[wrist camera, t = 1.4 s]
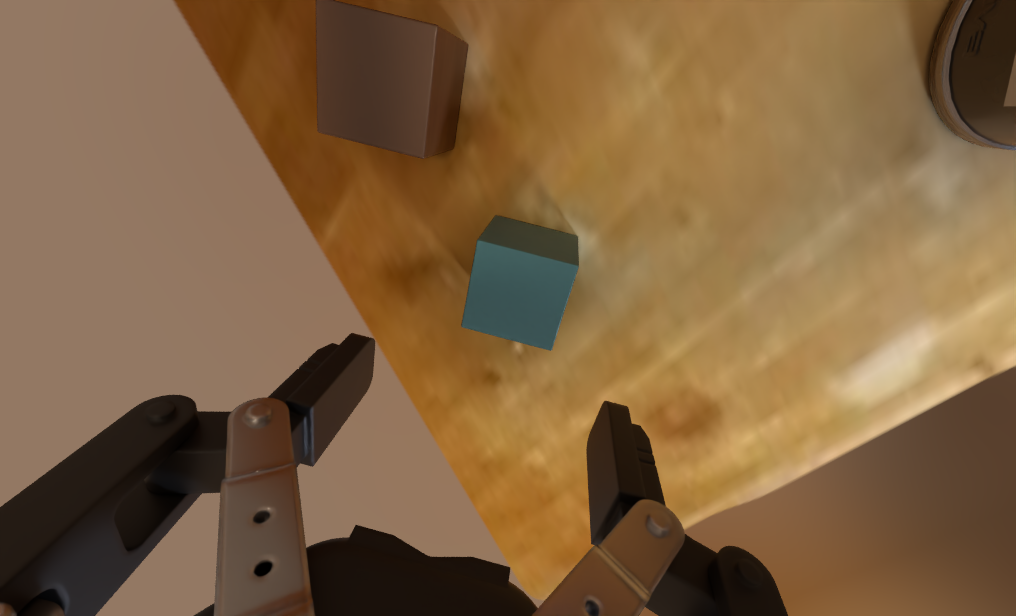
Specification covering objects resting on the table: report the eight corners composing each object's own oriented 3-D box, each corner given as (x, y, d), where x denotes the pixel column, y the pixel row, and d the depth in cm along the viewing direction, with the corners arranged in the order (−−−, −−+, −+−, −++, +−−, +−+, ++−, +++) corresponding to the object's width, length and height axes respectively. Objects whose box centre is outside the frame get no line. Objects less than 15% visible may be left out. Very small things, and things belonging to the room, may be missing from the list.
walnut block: (468, 43, 20) (438, 25, 15) (453, 149, 22) (423, 159, 18) (372, 20, 20) (314, -5, 15) (368, 127, 22) (316, 132, 18)
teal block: (578, 235, 23) (579, 265, 19) (555, 309, 26) (551, 351, 21) (495, 214, 23) (477, 239, 19) (480, 289, 26) (460, 327, 21)
